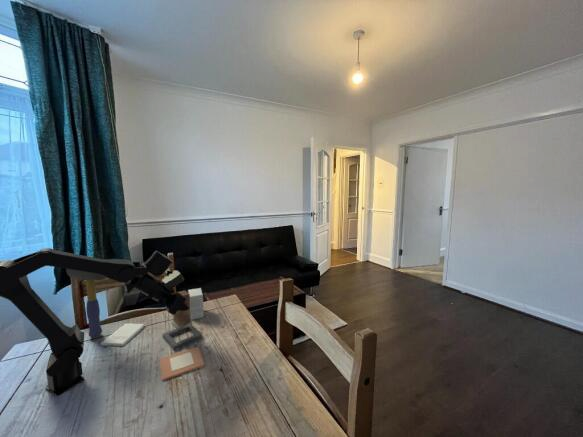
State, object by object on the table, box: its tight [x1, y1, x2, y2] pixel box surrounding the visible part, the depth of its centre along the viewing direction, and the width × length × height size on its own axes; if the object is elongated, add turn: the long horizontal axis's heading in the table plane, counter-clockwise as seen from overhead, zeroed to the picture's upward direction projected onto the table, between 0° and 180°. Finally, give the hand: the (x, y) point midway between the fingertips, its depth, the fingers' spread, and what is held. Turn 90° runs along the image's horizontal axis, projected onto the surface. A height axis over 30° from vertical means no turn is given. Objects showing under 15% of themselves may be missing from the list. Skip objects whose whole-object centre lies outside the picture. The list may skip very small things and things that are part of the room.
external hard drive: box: [100, 323, 146, 347], centre depth 95 cm, size 2×8×12 cm
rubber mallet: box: [65, 269, 107, 339], centre depth 91 cm, size 12×8×30 cm, turn 80°
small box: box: [187, 287, 205, 321], centre depth 110 cm, size 8×6×10 cm
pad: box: [159, 346, 206, 382], centre depth 80 cm, size 12×10×1 cm
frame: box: [162, 324, 203, 351], centre depth 93 cm, size 10×10×2 cm
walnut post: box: [171, 290, 193, 330], centre depth 91 cm, size 5×5×12 cm
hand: (185, 306), depth 92 cm, fingers closed on walnut post, 4 cm apart
